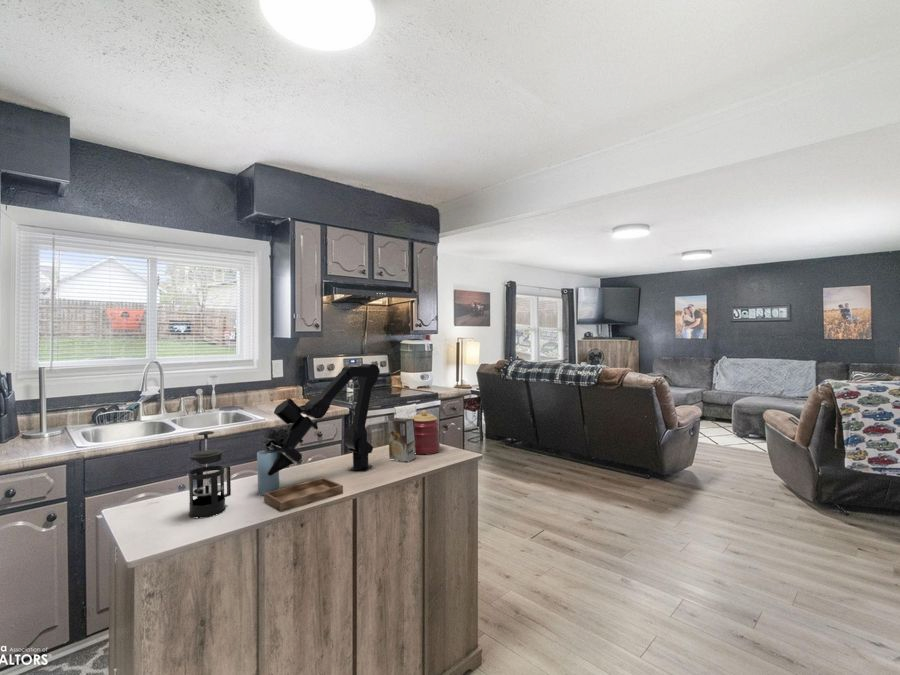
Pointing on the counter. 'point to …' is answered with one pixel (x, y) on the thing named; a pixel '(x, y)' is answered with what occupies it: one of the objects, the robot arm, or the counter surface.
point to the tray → (302, 494)
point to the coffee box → (401, 439)
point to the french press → (207, 495)
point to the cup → (263, 466)
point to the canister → (426, 433)
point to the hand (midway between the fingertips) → (264, 472)
